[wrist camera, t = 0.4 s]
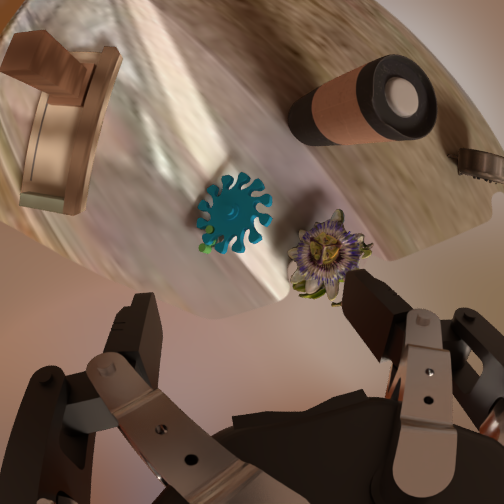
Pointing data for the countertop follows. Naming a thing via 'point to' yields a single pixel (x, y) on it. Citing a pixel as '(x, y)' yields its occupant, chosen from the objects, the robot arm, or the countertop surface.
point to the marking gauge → (48, 68)
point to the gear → (232, 214)
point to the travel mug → (368, 106)
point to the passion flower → (326, 257)
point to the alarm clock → (480, 165)
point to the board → (68, 142)
